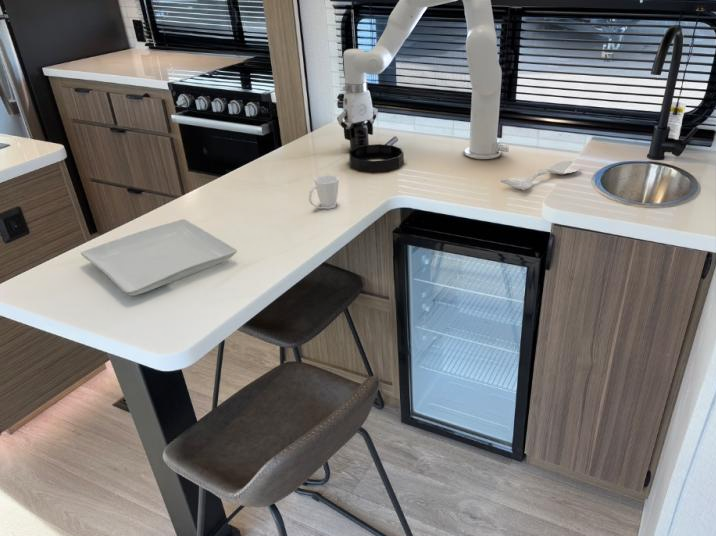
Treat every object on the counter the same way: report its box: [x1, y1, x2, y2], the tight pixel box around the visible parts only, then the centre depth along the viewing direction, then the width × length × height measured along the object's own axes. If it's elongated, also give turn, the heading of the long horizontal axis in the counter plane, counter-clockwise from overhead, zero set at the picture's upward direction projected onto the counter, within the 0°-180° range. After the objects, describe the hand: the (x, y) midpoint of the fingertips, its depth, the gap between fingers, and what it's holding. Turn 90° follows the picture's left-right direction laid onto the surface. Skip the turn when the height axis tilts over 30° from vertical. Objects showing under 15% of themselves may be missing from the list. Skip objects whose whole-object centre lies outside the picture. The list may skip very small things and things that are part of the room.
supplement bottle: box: [349, 121, 370, 151], centre depth 217 cm, size 7×7×12 cm
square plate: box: [80, 218, 238, 296], centre depth 144 cm, size 27×27×4 cm
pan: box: [348, 135, 405, 174], centre depth 209 cm, size 18×28×4 cm, turn 160°
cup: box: [308, 174, 340, 210], centre depth 172 cm, size 7×10×8 cm
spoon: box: [499, 160, 574, 191], centre depth 188 cm, size 9×32×4 cm, turn 130°
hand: (358, 136), depth 217 cm, fingers open, 9 cm apart
